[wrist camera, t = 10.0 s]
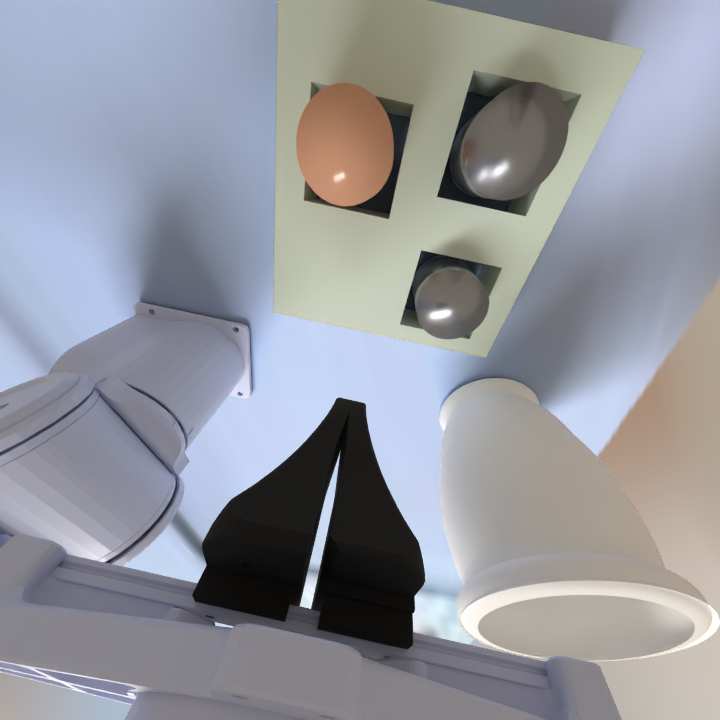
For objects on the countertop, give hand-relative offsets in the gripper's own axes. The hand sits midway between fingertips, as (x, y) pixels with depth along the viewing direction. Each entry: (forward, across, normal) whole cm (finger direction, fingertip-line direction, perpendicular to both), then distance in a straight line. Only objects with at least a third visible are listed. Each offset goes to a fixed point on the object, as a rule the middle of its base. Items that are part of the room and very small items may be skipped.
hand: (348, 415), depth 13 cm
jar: (+11, -12, +6) cm, 18 cm away
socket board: (+10, -1, -8) cm, 13 cm away
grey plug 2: (+10, -4, -12) cm, 16 cm away
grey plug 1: (+10, -4, -4) cm, 12 cm away
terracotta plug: (+9, +3, -10) cm, 14 cm away
